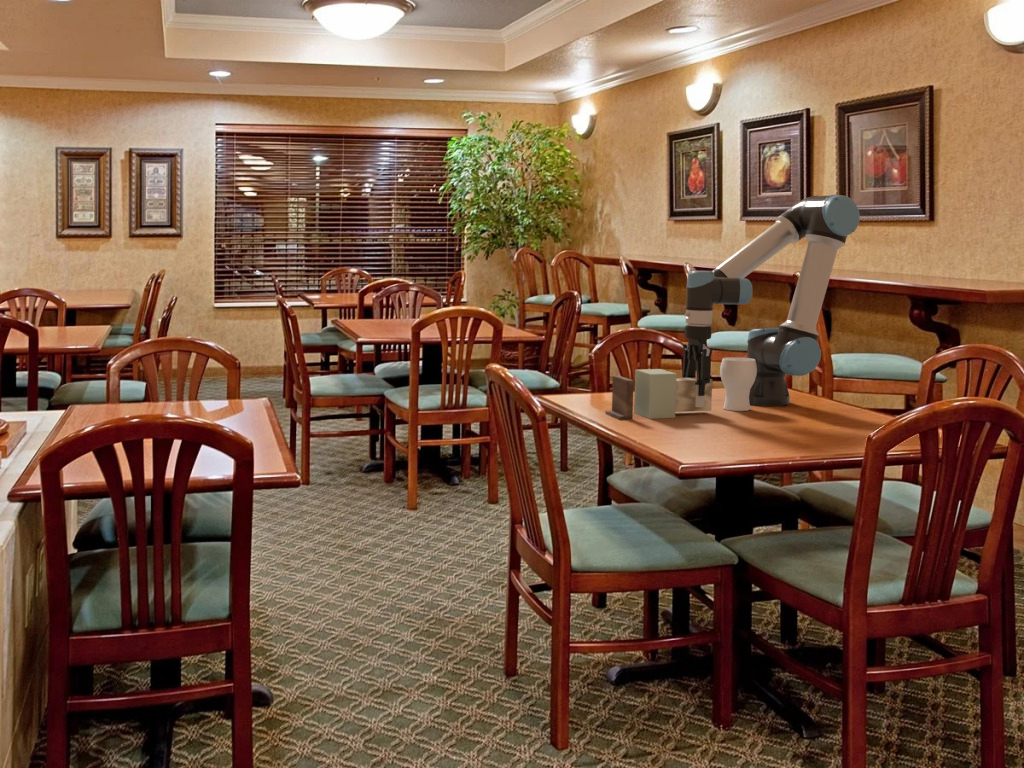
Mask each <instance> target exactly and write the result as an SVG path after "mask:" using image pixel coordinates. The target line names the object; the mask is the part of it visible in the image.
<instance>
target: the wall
mask: <svg viewBox="0 0 1024 768" xmlns="http://www.w3.org/2000/svg"><path fill="white" fill-rule="evenodd" d="M634 387H635V379H630V378H627V377H624V376H622V375H613V376H612V388H611V390H612V393H611V396H612V399H611V409H610V410H605V411H604V412H605V413H604V414H605V415H607V416H609V417H611V418H614V419H617V420H619V421H628V420H633V415H634V414H633V413H634Z"/></svg>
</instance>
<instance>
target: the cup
mask: <svg viewBox="0 0 1024 768" xmlns="http://www.w3.org/2000/svg"><path fill="white" fill-rule="evenodd" d="M721 359H722V360H721V363H720V366H719V367H720V369H719V375H720V378H721V382H722V385H723V386H724V392H725V398H724V404H723V409H724V410H727V411H733V412H734V411H735V412H744V411H745V412H746V411H750V410H751V404H750V403H749V394H750V389H751V387H752V385H753V383H754V381H755V378H756V375H757V366H756V360H755V359H751V358H747V357H739V356H738V357H733V356H730V357H722V358H721Z"/></svg>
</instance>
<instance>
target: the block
mask: <svg viewBox="0 0 1024 768" xmlns="http://www.w3.org/2000/svg"><path fill="white" fill-rule="evenodd" d="M634 370H635V371H634V394H633V413H634V414H636V415H639V416H641V417H644V418H646V419H649V420H651V419H668V418H669V419H671V418H676V412H675V407H676V380H677V378H678V377H677V376H678V375H677V373H675V372H672V371H668V370H666V369H663V368H662V369H661V368H650V369H645V368H644V369H634Z"/></svg>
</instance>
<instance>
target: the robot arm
mask: <svg viewBox="0 0 1024 768" xmlns="http://www.w3.org/2000/svg"><path fill="white" fill-rule="evenodd" d="M860 219H861V216H860V211H859V207H858V206H857V203H856V202H855V201H854V199H852V198H851V197H849V196H847V195H841V194H830V195H812V196H808V197H805V198H803V199H801V200H799V201H798V202H797V203H795V204H793V205H792V206H791V207H789V208H788V209H786V210H785V211H784V212H783V213H781V214H780V215H779V216H777V217H776V218H775V222H774V223H773V224H772V225H771V226H769V227H768V228H767V229H765V231H763V232H761V234H758V236H756V237H755V238H753V239H752V240H751V241H750V242H748V243H747V244H745V246H743V247H742V248H740V249H739V250H738V251H737V252H734V254H733V255H731V256H730V257H729V258H727V259H726V260H725V261H724V262H722V263H720V265H718V266H717V267H715V268H714V269H713V270H690V271H689V272H688V274H687V278H686V279H687V280H686V287H685V288H686V298H685V299H686V300H685V301H686V302H685V305H686V307H685V312H684V317H685V321H684V322H685V323H686V325H685V326H684V338H685V339H688V342H687V343H684V344H682V350H683V355H682V356H683V358H682V376H681V378H697V383H695V405H694V407H704V399H705V385H706V384H707V383H710V379H711V367H712V366H711V364H712V354H713V349H712V348H709V347H708V343H707V342H708V340H710V339H711V338H712V326H711V325H712V324H713V312H714V311H713V309H714V308H713V307H714V305H737V306H739V305H745V304H748V303H749V302H750V301H751V300H752V297H753V291H754V290H753V283H752V282H751V281H750V279H748V278H746V277H747V276H748V275H750V274H751V273H753V272H754V271H756V269H758V268H759V267H760V266H762V265H763V264H764V263H766V262H767V261H768V260H770V259H771V258H772V257H774V256H775V255H776V254H778V253H779V252H780V251H782V250H783V249H785V248H786V247H787V246H788V245H790V244H796V243H798V242H799V241H800V240H802V239H804V238H805V239H806V240H807V248H806V252H805V255H804V258H803V262H802V265H801V268H800V273H799V276H798V279H797V282H796V287H795V290H794V294H793V297H792V300H791V304H790V308H789V311H788V315H787V318H786V320H785V322H783V323H781V324H779V326H778V327H773V328H771V327H770V328H769V327H768V328H753V329H751V330H750V331H749V332H748V335H747V341H746V342H747V352H746V353H747V355H746V358H751V359H755V360H756V366H757V375H756V378H755V381H754V383H753V385H752V387H751V389H750V394H749V403H750V405H753V406H755V405H756V406H762V407H763V406H765V407H767V406H769V407H775V406H776V407H777V406H786V405H789V404H790V401H791V400H790V399H791V396H790V392H789V387H788V385H787V381H786V375H789V376H793V377H795V376H797V377H802V376H806V375H809V373H812V372H813V371H815V370H816V368H817V366H818V365H819V363H820V361H821V357H822V349H821V347H820V343H818V339H819V336H820V334H819V332H818V330H817V329H816V327H817V324H818V320H819V317H820V315H821V310H822V306H823V303H824V299H825V297H826V296H825V295H826V293H827V289H828V285H829V281H830V278H831V275H832V271H833V267H834V264H835V260H836V257H837V252H838V250H839V249H841V248H842V247H844V246H845V245H846V241H847V239H848V236H849V235H852V234H853V233H854V232H855V231H856V230H857V228H858V227H859V225H860Z"/></svg>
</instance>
